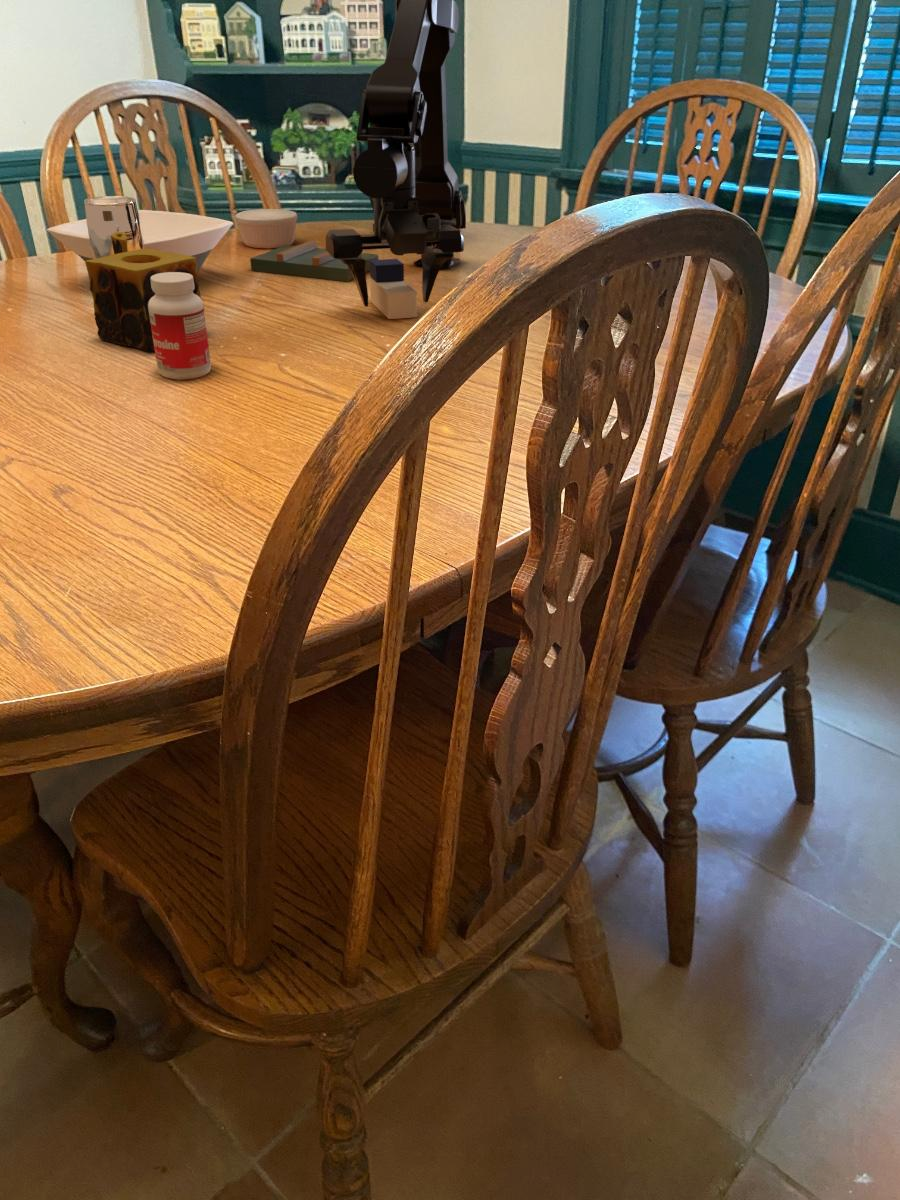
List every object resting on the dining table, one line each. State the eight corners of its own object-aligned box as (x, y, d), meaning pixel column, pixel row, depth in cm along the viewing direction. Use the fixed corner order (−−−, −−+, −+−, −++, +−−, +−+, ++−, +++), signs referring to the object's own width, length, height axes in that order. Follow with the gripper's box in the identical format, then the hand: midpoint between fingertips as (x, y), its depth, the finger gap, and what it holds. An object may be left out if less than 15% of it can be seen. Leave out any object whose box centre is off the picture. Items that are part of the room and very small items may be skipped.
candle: (150, 354, 113) (136, 271, 108) (96, 340, 118) (80, 260, 112) (209, 334, 121) (199, 256, 115) (155, 322, 125) (143, 246, 120)
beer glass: (140, 322, 125) (120, 205, 117) (94, 318, 126) (71, 202, 118) (163, 309, 131) (146, 197, 123) (119, 305, 132) (99, 194, 124)
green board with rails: (287, 256, 161) (285, 237, 160) (378, 266, 156) (378, 247, 154) (251, 270, 152) (249, 250, 150) (347, 281, 146) (346, 261, 145)
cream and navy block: (370, 301, 136) (369, 260, 133) (397, 299, 138) (397, 258, 134) (388, 319, 128) (387, 275, 125) (416, 317, 130) (416, 273, 126)
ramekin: (228, 247, 166) (225, 217, 164) (252, 236, 176) (249, 207, 173) (285, 251, 165) (283, 220, 162) (307, 239, 174) (305, 210, 171)
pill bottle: (148, 372, 108) (132, 276, 102) (190, 360, 112) (177, 267, 106) (179, 384, 104) (164, 286, 98) (222, 372, 108) (211, 276, 102)
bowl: (44, 287, 140) (31, 229, 136) (149, 259, 157) (141, 207, 153) (152, 306, 132) (142, 245, 127) (251, 275, 149) (245, 220, 144)
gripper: (340, 199, 114) (345, 323, 122) (479, 193, 119) (475, 313, 127) (321, 185, 123) (328, 302, 131) (451, 181, 128) (449, 294, 136)
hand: (395, 303), depth 131 cm, fingers open, 9 cm apart
